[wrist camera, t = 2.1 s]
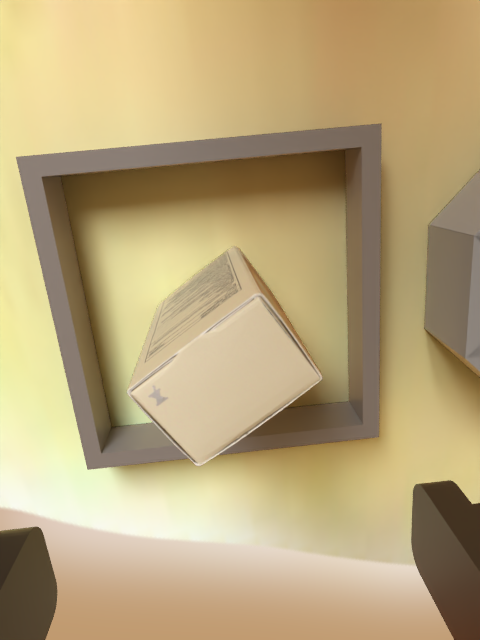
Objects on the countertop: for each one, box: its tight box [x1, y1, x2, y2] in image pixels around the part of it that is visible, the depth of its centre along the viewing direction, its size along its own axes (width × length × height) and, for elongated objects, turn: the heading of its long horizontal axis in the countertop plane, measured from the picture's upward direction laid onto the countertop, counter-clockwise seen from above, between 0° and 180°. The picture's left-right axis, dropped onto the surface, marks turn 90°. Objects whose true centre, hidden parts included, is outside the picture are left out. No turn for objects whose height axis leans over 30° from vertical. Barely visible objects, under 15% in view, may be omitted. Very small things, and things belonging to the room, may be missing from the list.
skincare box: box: [127, 246, 323, 466], centre depth 22 cm, size 6×4×12 cm
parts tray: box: [16, 124, 381, 470], centre depth 27 cm, size 18×18×3 cm
